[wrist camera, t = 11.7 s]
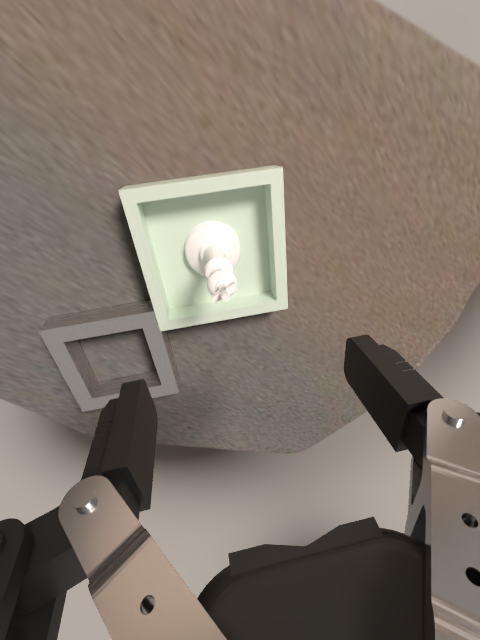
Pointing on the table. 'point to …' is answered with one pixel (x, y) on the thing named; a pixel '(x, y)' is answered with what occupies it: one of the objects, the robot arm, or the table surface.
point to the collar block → (71, 327)
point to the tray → (197, 207)
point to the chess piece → (214, 257)
